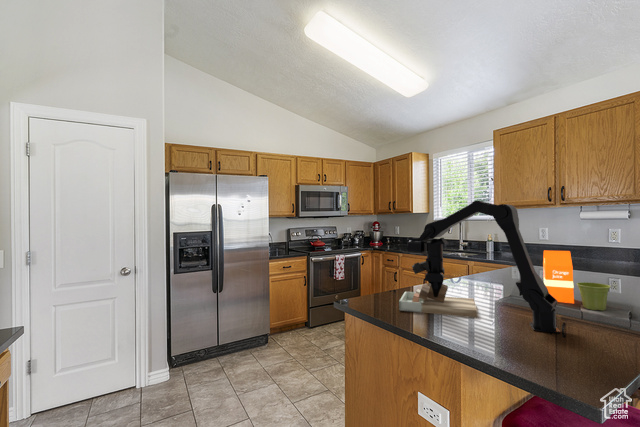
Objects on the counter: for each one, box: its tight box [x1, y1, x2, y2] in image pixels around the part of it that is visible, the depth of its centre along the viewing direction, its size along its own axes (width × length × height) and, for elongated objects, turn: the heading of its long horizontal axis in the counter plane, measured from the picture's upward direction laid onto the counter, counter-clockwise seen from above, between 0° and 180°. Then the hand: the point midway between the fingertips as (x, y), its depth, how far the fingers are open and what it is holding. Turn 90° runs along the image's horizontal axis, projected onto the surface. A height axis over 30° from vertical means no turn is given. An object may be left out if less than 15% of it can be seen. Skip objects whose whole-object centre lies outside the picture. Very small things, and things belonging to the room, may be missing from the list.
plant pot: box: [576, 282, 612, 312], centre depth 112 cm, size 9×9×9 cm
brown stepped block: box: [419, 283, 449, 303], centre depth 118 cm, size 13×9×6 cm
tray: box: [398, 291, 424, 313], centre depth 121 cm, size 16×8×4 cm, turn 157°
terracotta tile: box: [412, 293, 419, 302], centre depth 117 cm, size 4×4×2 cm
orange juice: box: [542, 250, 575, 304], centre depth 124 cm, size 8×9×20 cm
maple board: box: [421, 296, 478, 318], centre depth 116 cm, size 16×18×2 cm
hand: (436, 295), depth 118 cm, fingers closed on brown stepped block, 4 cm apart
